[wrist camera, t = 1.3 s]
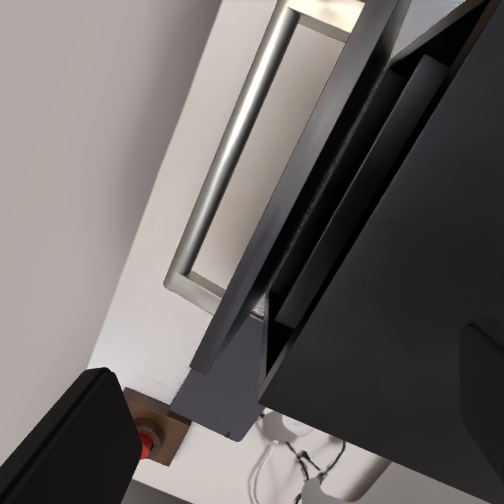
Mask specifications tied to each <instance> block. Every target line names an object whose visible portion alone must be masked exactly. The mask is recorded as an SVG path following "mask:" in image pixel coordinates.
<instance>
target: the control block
mask: <svg viewBox="0 0 504 504" xmlns="http://www.w3.org/2000/svg"><path fill="white" fill-rule="evenodd" d="M123 394H124V397H125V400H126V402H127V405H128V407H129V410H130V412H131V415H132V417H133V420H134V423H135V425H136V428H137V430H138V433H143V434H146V435H148V436H149V437H150V438H151V439H152V441H153V444H152V447H151V449H150V452H149V454H148V456H147V457H146V458H145V459H151V460H153V461H156V462H158V463H161V464H163V465H165V466H168V467H169V466H170V464H171V462H172V460H173V458H174V456H175V454H176V452H177V450H178V449H179V447H180V445H181V443H182V441H183V439H184V437H185V435H186V433H187V431H188V430H189V428H190V425H191V422H192V420H190V419H187V418H185V417H183V416H181V415H179V414H177V413H175V412H173V411H171V410H169V409H170V405H167V404H165V403H162V402H160V401H158V400H155V399H153V398H151V397H148V396H146V395H143V394H141V393H139V392H136V391H134V390H132V389H129V388H127V387H126V388H125V389H124V391H123Z"/></svg>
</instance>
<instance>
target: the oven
mask: <svg viewBox="0 0 504 504" xmlns="http://www.w3.org/2000/svg"><path fill="white" fill-rule="evenodd" d="M488 317H496V318H497V319H499V320H500V321H502V322H503V323H504V0H466V1H465V2H463V3H462V4H461V5H459V6H458V7H457V8H456V9H454V10H453V11H452V12H450V13H449V14H448V15H447V16H445V17H444V18H443V19H442V20H440V21H439V22H438V23H436V24H435V25H434V26H433V27H431V28H430V29H429V30H428V31H426V32H425V33H424V34H422V35H421V36H420V37H419V38H417V39H416V40H415V41H413V42H412V43H411V44H410V45H408V46H407V47H406V48H405V49H403V50H402V51H401V52H399V53H398V54H397V55H396V56H394V57H393V58H392V59H391V61H390V62H389V64H388V66H387V68H386V70H385V72H384V74H383V76H382V77H381V79H380V81H379V83H378V85H377V87H376V89H375V90H374V92H373V94H372V96H371V98H370V100H369V102H368V104H367V105H366V107H365V109H364V111H363V113H362V115H361V117H360V119H359V120H358V122H357V124H356V126H355V128H354V130H353V132H352V134H351V135H350V137H349V139H348V141H347V143H346V145H345V147H344V148H343V150H342V152H341V154H340V156H339V158H338V160H337V162H336V163H335V165H334V167H333V169H332V171H331V173H330V175H329V177H328V178H327V180H326V182H325V184H324V186H323V188H322V190H321V191H320V193H319V195H318V197H317V199H316V201H315V203H314V205H313V206H312V208H311V210H310V212H309V214H308V216H307V218H306V220H305V221H304V223H303V225H302V227H301V229H300V231H299V233H298V235H297V236H296V238H295V240H294V242H293V244H292V246H291V248H290V249H289V251H288V253H287V255H286V257H285V259H284V261H283V263H282V264H281V266H280V268H279V270H278V272H277V274H276V276H275V278H274V279H273V281H272V283H271V285H270V287H269V289H268V291H267V293H266V294H265V305H264V319H263V333H262V348H261V362H260V376H259V390H258V404H260V405H262V406H265V407H267V408H269V409H272V410H274V411H276V412H279V413H281V414H283V415H286V416H288V417H290V418H293V419H295V420H297V421H300V422H302V423H304V424H307V425H309V426H311V427H314V428H316V429H318V430H321V431H323V432H325V433H328V434H330V435H332V436H335V437H337V438H339V439H342V440H344V441H346V442H349V443H351V444H353V445H356V446H358V447H360V448H363V449H365V450H367V451H370V452H372V453H374V454H377V455H379V456H381V457H384V458H386V459H388V460H391V461H393V462H395V463H398V464H400V465H402V466H405V467H407V468H409V469H412V470H414V471H416V472H419V473H421V474H423V475H426V476H428V477H430V478H433V479H435V480H437V481H439V482H442V483H444V484H446V485H449V486H451V487H454V488H456V489H458V490H460V491H463V492H465V493H467V494H470V495H472V496H475V497H477V498H479V499H482V500H484V501H486V502H489V503H491V504H504V484H503V482H502V481H501V479H500V478H499V477H498V475H497V474H496V472H495V471H494V469H493V468H492V466H491V465H490V463H489V462H488V460H487V459H486V457H485V456H484V455H483V453H482V452H481V450H480V449H479V447H478V446H477V444H476V443H475V441H474V440H473V438H472V437H471V435H470V434H469V432H468V431H467V430H466V428H465V426H464V424H463V422H462V419H461V416H460V384H459V330H460V328H461V327H465V324H466V322H467V321H468V320H473V319H480V318H488Z"/></svg>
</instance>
